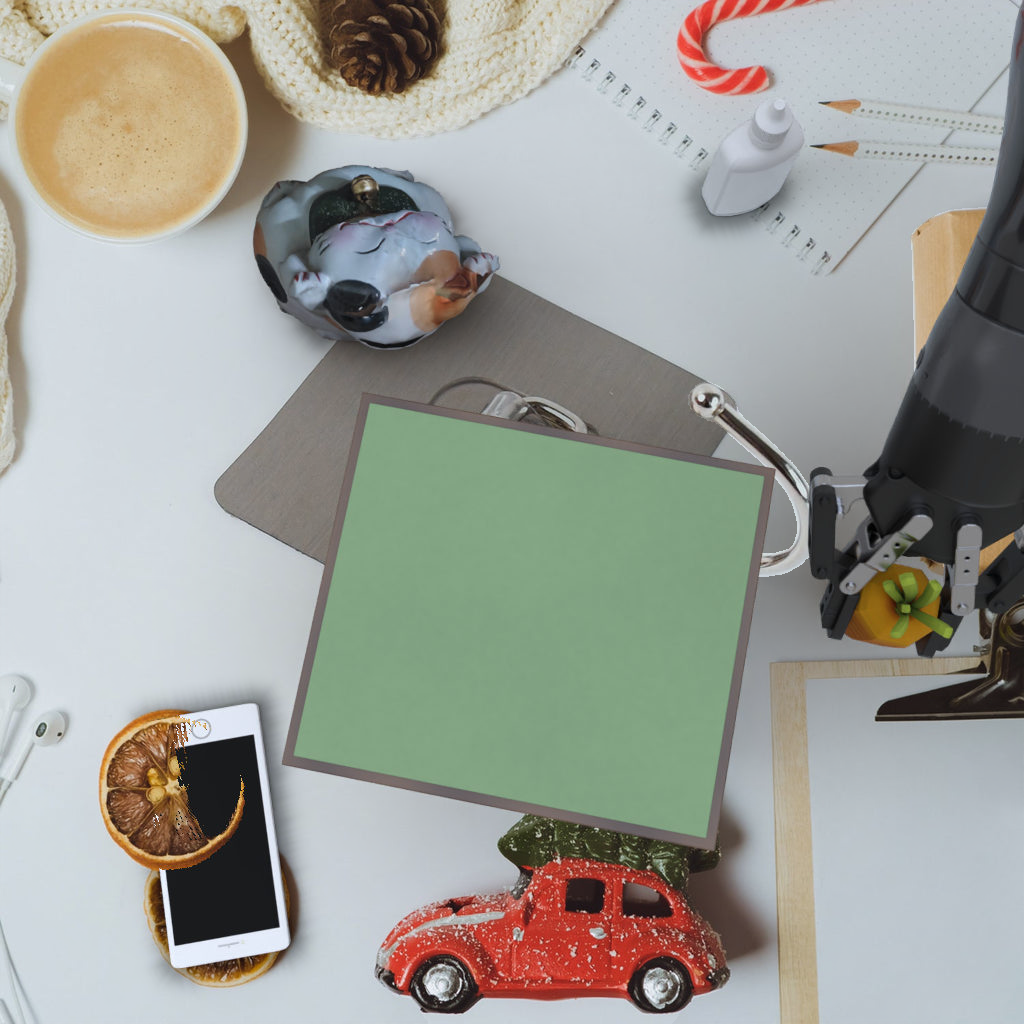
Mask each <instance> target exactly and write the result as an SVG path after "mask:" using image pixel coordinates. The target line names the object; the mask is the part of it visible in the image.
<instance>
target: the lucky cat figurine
mask: <svg viewBox="0 0 1024 1024" xmlns="http://www.w3.org/2000/svg"><path fill="white" fill-rule="evenodd" d="M252 247H253V256H254V260H255V262H256V265H257V267H258V271H259V273H260V275H261V277H262V279H263V281H264V283H265V284H266V285H267V286H268V287H267V288H269V290H270V292H271V293H272V295H273V296H274V298H275V301H276V304H277V306H278V307H279V310H280V311H281V312H283V313H284V314H287V315H290V316H292V317H294V318H295V319H297V320H298V321H299V322H301V323H302V324H304V325H306V326H308V327H309V328H310V329H312V330H313V331H314V332H315V333H316V334H317V335H319V336H320V337H321V339H325V340H329V341H336V342H337V341H340V342H342V341H347V342H348V341H349V342H350V341H356V342H359V343H361V344H362V345H364V346H366V347H368V348H372V349H375V350H387V351H397V350H402V349H404V348H409V347H412V346H415V345H416V344H418V343H419V342H420V341H422V340H423V339H425V338H427V337H429V336H431V335H433V334H434V333H435V332H436V331H438V329H439V328H440V327H441V326H442V325H443V324H444V323H445V322H447V321H448V320H451V319H453V318H456V317H457V316H459V315H461V314H462V313H463V312H464V311H465V310H466V309H467V306H468V305H469V303H470V302H471V301H472V300H473V299H474V298H475V297H477V295H479V294H481V293H482V292H485V290H486V289H487V288H488V287H489V285H490V283H491V280H492V277H493V276H494V274H495V273H496V272H497V271H498V270H499V269H500V268H501V264H500V261H499V260H500V256H498V255H497V254H496V255H493V254H491V253H489V252H483V250H482V248H481V246H480V244H479V243H478V242H477V241H476V240H474V239H473V238H472V237H471V236H467V235H462V234H460V235H456V233H455V228H454V222H453V220H452V216H451V213H450V211H449V208H448V205H447V204H446V200H445V199H444V197H443V195H442V194H441V193H440V192H439V191H438V190H436V189H435V188H434V187H432V186H431V185H429V184H426V183H423V182H421V181H415V176H414V175H413V173H412V172H410V171H409V169H406V170H405V169H404V170H396V169H392V168H389V167H377V166H374V167H373V166H370V165H361V164H348V165H343V166H341V167H335V168H330V169H327V170H323V171H321V172H320V173H318V174H316V175H314V176H313V177H312V178H310V179H308V180H307V181H305V180H304V181H303V180H297V179H291V180H290V179H286V180H280V181H279V180H278V181H276V182H275V184H273V186H272V188H271V189H270V190H269V191H268V192H267V194H265V196H264V197H263V199H262V202H261V204H260V208H259V210H258V212H257V213H256V218H255V222H254V228H253V232H252Z"/></svg>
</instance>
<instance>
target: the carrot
mask: <svg viewBox="0 0 1024 1024" xmlns="http://www.w3.org/2000/svg"><path fill="white" fill-rule="evenodd" d="M942 588H943V586H942V585H941V583H940V582H939V581H938V580H937V579H936V578H935V579H933V578H932V579H931V580H929V578H928V577H927V575H926V573H925V572H924V570H923V569H921V568H917V567H913V566H908V565H904V564H899V563H896V562H894V563H893V564H892V565H891V566H890V568H889V569H888V570H887V571H885V572H884V573H881V572H878V573H877V574H876V575H875V576H874V577H873V578H872V579H871V580H870V581H869V582H868V583H867V584H866V585H865V586H864V587H863V588H862V589H861V590H860V599H859V602H858V604H857V606H856V609H855V611H854V613H853V615H852V618H851V620H850V622H849V624H848V627H847V629H846V631H845V634H844V636H847V637H848V638H850V639H851V640H855V641H857V642H858V641H859V642H862V643H866V644H872V645H876V646H879V647H884V648H892V649H906V648H908V647H910V646H911V645H913V644H915V642H916V641H917V640H919V639H921V638H922V637H924V636H925V635H927V634H928V633H930V632H932V631H933V630H934V631H935V632H936V633H938V634H940V635H941V636H943V637H945V638H950V637H951V635H952V632H953V628H951V627H950V626H949V625H948V624H946V623H944V622H943V621H941V620H940V619H938V618H937V615H938V610H939V604H940V598H941V597H940V596H939V594H940V592H941V590H942Z"/></svg>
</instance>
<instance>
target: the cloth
mask: <svg viewBox="0 0 1024 1024" xmlns="http://www.w3.org/2000/svg"><path fill="white" fill-rule="evenodd" d="M763 484H764V476H760V475H755V474H750V473H744V472H739V471H734V470H728V469H723V468H717V467H712V466H707V465H701V464H696V463H690V462H685V461H680V460H674V459H669V458H664V457H658V456H653V455H647V454H642V453H637V452H631V451H626V450H621V449H615V448H610V447H604V446H599V445H594V444H588V443H583V442H578V441H572V440H567V439H561V438H556V437H551V436H545V435H540V434H535V433H529V432H524V431H518V430H513V429H508V428H502V427H497V426H491V425H486V424H481V423H475V422H470V421H465V420H459V419H454V418H448V417H443V416H438V415H432V414H427V413H422V412H416V411H411V410H405V409H400V408H395V407H389V406H384V405H379V404H373V403H370V405H369V410H368V414H367V419H366V424H365V428H364V433H363V437H362V442H361V447H360V451H359V456H358V460H357V465H356V470H355V474H354V479H353V483H352V488H351V493H350V497H349V502H348V506H347V511H346V516H345V520H344V525H343V530H342V534H341V539H340V543H339V548H338V553H337V557H336V562H335V566H334V571H333V576H332V580H331V585H330V589H329V594H328V599H327V603H326V608H325V612H324V617H323V622H322V626H321V631H320V636H319V640H318V645H317V649H316V654H315V659H314V663H313V668H312V672H311V677H310V682H309V686H308V691H307V695H306V700H305V705H304V709H303V714H302V719H301V723H300V728H299V732H298V737H297V742H296V746H295V751H294V756H297V757H302V758H307V759H312V760H317V761H322V762H327V763H332V764H337V765H342V766H347V767H352V768H357V769H362V770H367V771H372V772H377V773H382V774H387V775H392V776H397V777H402V778H407V779H412V780H417V781H422V782H427V783H432V784H437V785H442V786H447V787H452V788H457V789H462V790H467V791H472V792H477V793H482V794H487V795H492V796H497V797H502V798H507V799H512V800H517V801H522V802H527V803H532V804H537V805H542V806H547V807H552V808H557V809H562V810H567V811H572V812H577V813H582V814H587V815H592V816H597V817H602V818H607V819H612V820H617V821H622V822H627V823H632V824H637V825H642V826H647V827H652V828H657V829H662V830H667V831H672V832H677V833H682V834H687V835H692V836H697V837H702V838H706V836H707V830H708V824H709V818H710V812H711V805H712V799H713V793H714V787H715V781H716V774H717V768H718V762H719V756H720V750H721V744H722V737H723V731H724V725H725V719H726V713H727V706H728V700H729V694H730V688H731V682H732V675H733V669H734V663H735V657H736V651H737V645H738V638H739V632H740V626H741V620H742V614H743V607H744V601H745V595H746V589H747V583H748V576H749V570H750V564H751V558H752V552H753V546H754V539H755V533H756V527H757V521H758V515H759V508H760V502H761V496H762V490H763Z"/></svg>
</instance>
